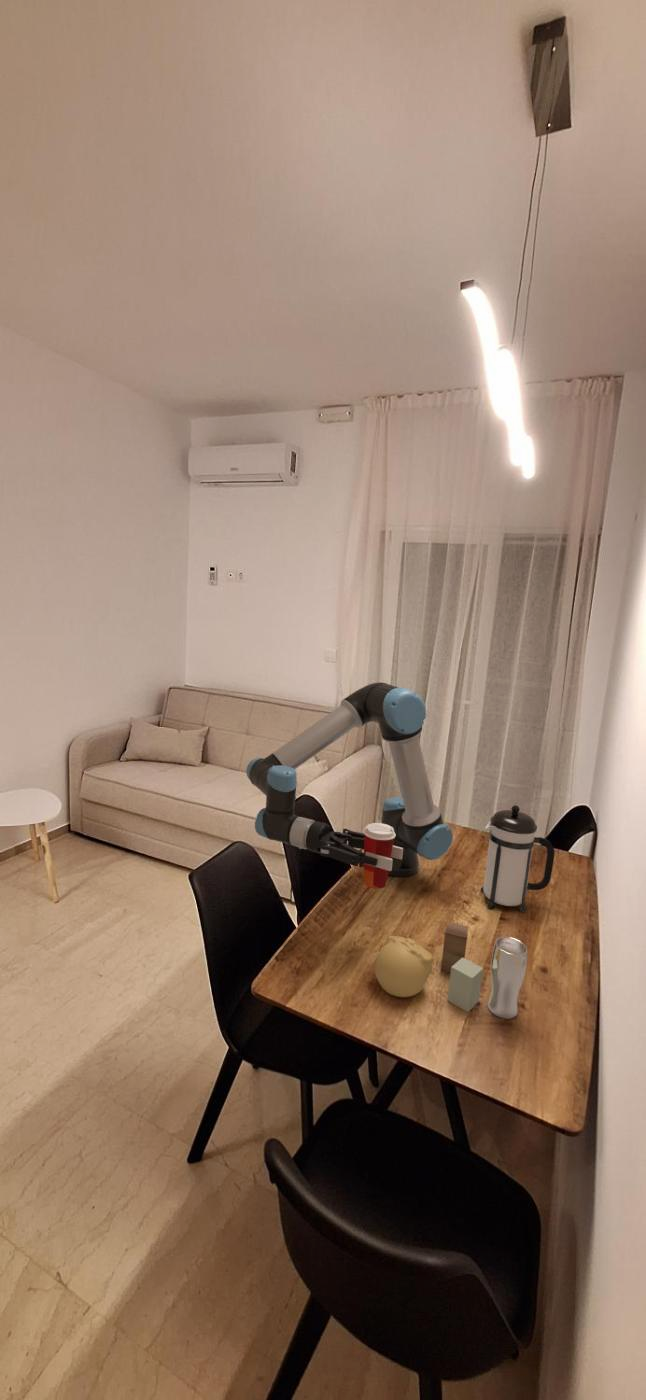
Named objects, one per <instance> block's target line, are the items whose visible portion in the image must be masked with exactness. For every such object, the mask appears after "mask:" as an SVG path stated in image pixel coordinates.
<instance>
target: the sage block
mask: <svg viewBox="0 0 646 1400" xmlns="http://www.w3.org/2000/svg"><path fill="white" fill-rule="evenodd" d="M483 973H484V968H483V966H480V965H478V964H477V963H475V962H473V961H470V960H469V959H466V958H463V957H462V958H461V959H460V960H459V961H458V962H457V963H455V964H454V965H453V966H452V967H451V973H450V974H449V981H448V991H447V1000H446V1001H448V1002H450V1003H452V1004H453V1005H455V1006H457V1007H458V1008H460V1009H461V1010H463V1011H465V1012H467V1013H469V1012H470V1011H471V1009H473V1008H474V1007H475V1005H477V1004H478V1003H479V1001H480V998H481V997H480V995H481V990H482V989H481V988H482V987H481V986H482V983H483V982H482V980H483Z"/></svg>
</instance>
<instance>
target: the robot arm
mask: <svg viewBox="0 0 646 1400" xmlns="http://www.w3.org/2000/svg"><path fill="white" fill-rule="evenodd" d="M426 717H427V708H426V705H425V701H424V700H423V698H422V697H421V696H420V695H418V693H416V692H415V691H412V690H411V689H408V688H405V687H398V686H395V685H392V684H390V683H386V682H373V683H369V684H367V685H365V686H363V687H361V688H359V689H357V690H356V691H354V692H353V693H350V694H349V695H348V696H347V697H345V698H344V699H342V700H341V701H340V704H339V706H338V707H336V708H335V709H334V710H332V711H331V712H330V713H328V714H326V715H325V716H323V717H322V718H321V719H319V720H318V721H316V722H315V723H314V724H312V725H311V726H309V727H307V728H306V729H305V730H304V731H302V732H300V733H299V734H297V735H296V736H295V737H294V738H292V739H291V740H289V741H288V742H286V743H285V744H284V745H282V746H280V747H279V748H278V749H276V750H275V751H274V752H272V753H270V754H269V755H267V756H266V757H265V758H264V757H257V758H253V759H252V760H251V761H249V763H248V764H247V767H246V773H245V774H246V777H247V778H248V780H249V782H250V783H251V784H252V785H253V786H254V787H256V788H257V789H259V791H260V792H261V793H262V794H264V795H265V798H266V800H265V807H264V808H261V809H260V810H259V811H258V813H257V815H256V820H254V830H255V832H256V834H258V835H259V836H261V837H262V838H266V839H268V840H270V841H275V842H279V843H284V844H286V845H290V846H294V847H295V848H296V847H297V848H298V849H300V850H302V849H303V850H308V851H309V852H313V853H316V854H320V856H322V857H326V858H331V859H334V860H335V861H339V862H341V863H345V864H348V865H349V866H354V867H359V868H364V863H365V864H368V865H371V866H375V867H378V868H381V869H385V870H388V876H391V877H397V878H401V877H402V878H404V877H406V878H407V877H411V876H414V875H416V874H417V873H418V872H419V868H420V861H419V857H418V856H420V857H422V858H425V859H426V860H429V861H433V860H438V859H440V858H441V857H443V856H444V855H445V854H447V852H448V851H449V848H450V847H451V846H452V843H453V839H454V833H453V830H452V828H451V827H450V826H449V825H448V824H446V823H445V822H444V821H443V817H442V816H443V815H442V813H441V809H440V808H439V806H437V805H435V804H434V799H433V796H432V790H431V787H430V782H429V778H428V773H427V769H426V764H425V759H424V755H423V752H422V746H421V741H420V737H419V736H420V734H421V733H422V732H423V725H424V724H425V722H424V720H426ZM371 722H372V723H373V722H374V723H375V724H378V727H379V730H380V735H381V738H382V740H383V741H385V742H387V743H388V744H389V749H390V755H391V757H392V760H393V761H392V762H393V765H394V770H395V773H396V777H397V783H398V787H399V789H400V795H401V796H393V797H389V798H387V799H385V800H384V801H383V806H382V812H381V813H382V814H381V815H382V816H381V823H382V824H386V825H389V826H391V827H392V828H393V829H394V832H395V834H396V836H395V838H394V841H393V848H392V854H391V858H387V857H384V856H380V855H377V854H373V853H370V852H366V854H365V855H364V851H363V852H362V851H361V850H364V838H365V834H364V833H363V832H358V831H353V830H351V829H347V828H343V829H342V832H341V831H333V830H332V829H331V826H330V825H329V824H328V823H326V822H321V821H317V820H316V821H315V820H314V819H311V818H307V817H302V816H298V815H296V814H295V805H296V804H295V803H296V794H297V793H296V790H297V787H298V781H297V771H296V770H297V768H300V766H302V765H304V764H305V763H306V762H308V761H309V760H311V759H312V758H313V757H314V756H316V755H318V754H319V753H321V752H322V751H324V750H325V749H326V748H328V747H329V746H331V744H333V743H334V742H336V741H338V740H339V739H340V738H341V737H343V736H344V735H345V734H347V733H348V732H350V731H351V730H352V729H354V728H362V727H363V726H364V725H365V724H367V723H371ZM358 849H361V850H358Z"/></svg>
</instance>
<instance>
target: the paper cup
mask: <svg viewBox="0 0 646 1400" xmlns="http://www.w3.org/2000/svg"><path fill="white" fill-rule="evenodd" d="M362 833H363V834H365V838H364V849H363V853H364V855H365V854H366V852H370V853H373V854H377V855H380V856H384V857H387V858H391V854H392V848H393V841H394V838H395V836H396V834H395V832H394V829H393V828H392V827H391V826H389V825H386V824H382V822H372V823H369V824H367V825H366V826H365V827H364V829H363V830H362ZM362 870H363V871H362V873H363V874H362V875H363V877H362V878H363V879H362V880H363V882H362V883H363V885H365V886H367V887H368V888H371V889H383V888H384V887H386V885H387V881H388V877H389V875H388V870H385V869H381V868H378V867H375V866H371V865H368V864H365V863H364V865H363V869H362Z"/></svg>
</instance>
